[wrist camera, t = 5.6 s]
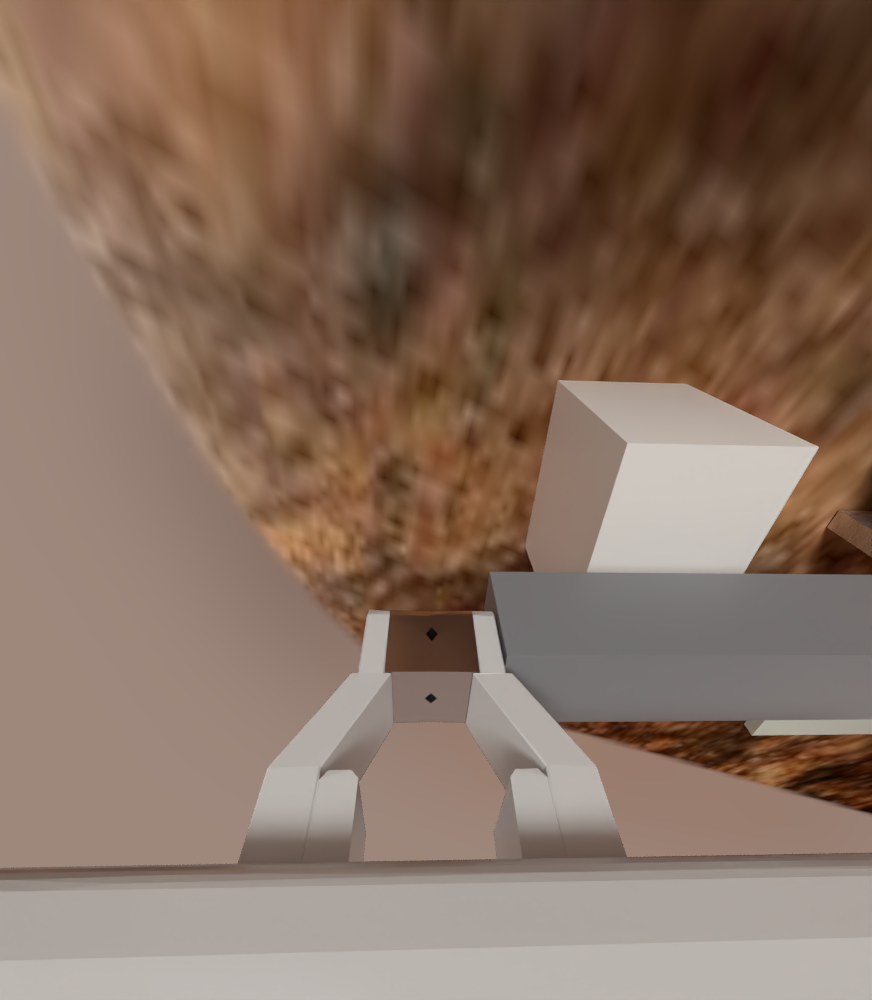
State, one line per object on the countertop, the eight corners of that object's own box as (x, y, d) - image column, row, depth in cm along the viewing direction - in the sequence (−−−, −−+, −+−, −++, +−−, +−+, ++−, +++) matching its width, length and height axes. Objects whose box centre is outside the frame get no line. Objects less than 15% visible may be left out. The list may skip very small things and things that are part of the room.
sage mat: (1008, 607, 22) (1026, 618, 22) (875, 722, 29) (886, 733, 28) (840, 606, 22) (854, 617, 21) (743, 723, 28) (751, 735, 27)
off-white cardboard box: (684, 383, 15) (818, 447, 10) (624, 546, 19) (697, 650, 14) (557, 379, 15) (627, 443, 10) (524, 545, 19) (562, 650, 14)
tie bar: (945, 575, 10) (1076, 654, 8) (886, 636, 11) (986, 718, 9) (489, 571, 10) (507, 655, 8) (480, 636, 11) (493, 722, 9)
